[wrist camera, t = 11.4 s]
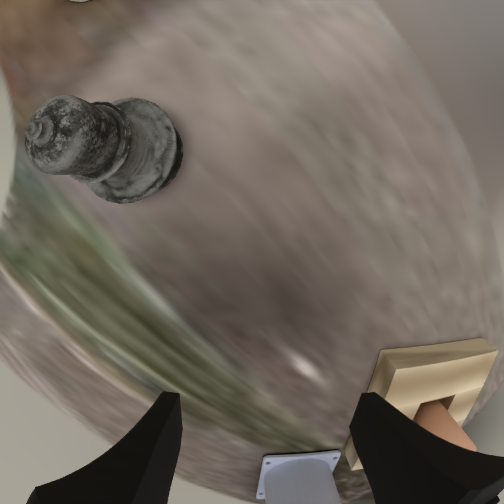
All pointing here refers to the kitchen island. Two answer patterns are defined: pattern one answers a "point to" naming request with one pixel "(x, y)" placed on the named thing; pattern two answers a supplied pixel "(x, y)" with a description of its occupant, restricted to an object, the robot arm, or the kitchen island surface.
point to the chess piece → (106, 145)
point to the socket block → (430, 379)
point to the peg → (442, 424)
